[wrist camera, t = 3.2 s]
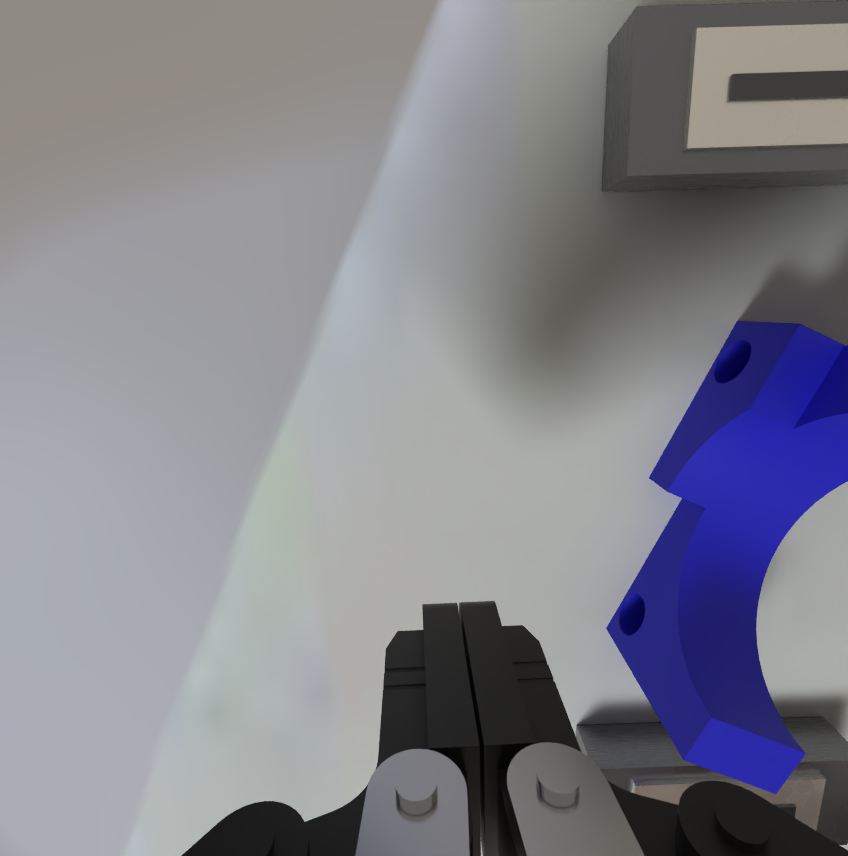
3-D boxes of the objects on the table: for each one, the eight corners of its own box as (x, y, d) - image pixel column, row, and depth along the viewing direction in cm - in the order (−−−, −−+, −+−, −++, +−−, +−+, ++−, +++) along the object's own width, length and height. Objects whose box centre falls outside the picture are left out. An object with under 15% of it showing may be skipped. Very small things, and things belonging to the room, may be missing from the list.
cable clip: (734, 320, 17) (898, 328, 11) (846, 374, 18) (1058, 407, 12) (570, 612, 20) (635, 742, 14) (672, 652, 20) (775, 793, 14)
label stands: (946, 35, 15) (1038, -12, 13) (808, 796, 22) (853, 852, 19) (608, 45, 15) (641, -1, 13) (573, 804, 22) (590, 862, 19)
